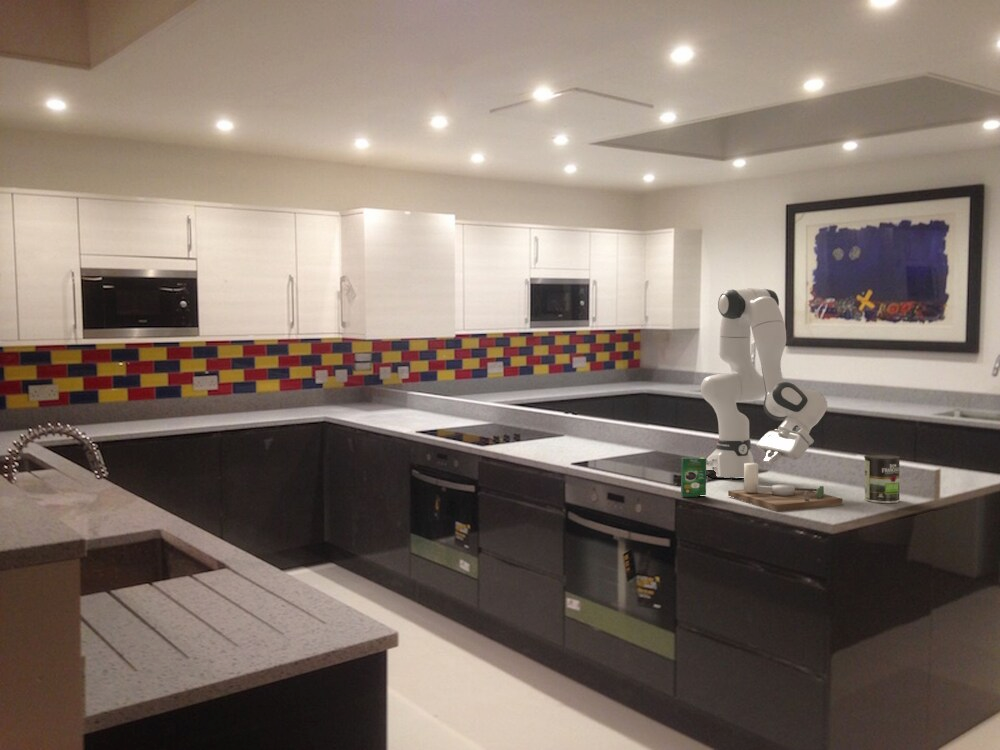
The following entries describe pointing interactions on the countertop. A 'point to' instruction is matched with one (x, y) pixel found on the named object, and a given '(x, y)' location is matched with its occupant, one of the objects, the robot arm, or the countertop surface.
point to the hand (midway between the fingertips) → (766, 463)
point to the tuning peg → (778, 489)
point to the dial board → (788, 499)
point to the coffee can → (882, 478)
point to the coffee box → (693, 477)
